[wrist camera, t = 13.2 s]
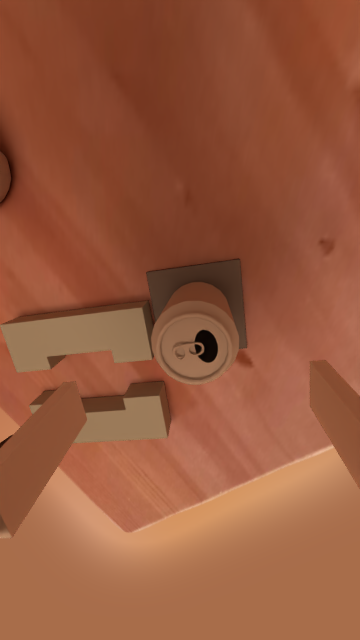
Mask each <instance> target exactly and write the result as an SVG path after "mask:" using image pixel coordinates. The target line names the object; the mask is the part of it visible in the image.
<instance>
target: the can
mask: <svg viewBox="0 0 360 640" xmlns="http://www.w3.org/2000/svg"><path fill="white" fill-rule="evenodd" d="M151 342H152V351H153V353H154V355H155V358H156V360H157V362H158V363H159V364H160V366H161V368H162V369H163V370H164V371H165V372H166V373H167V374H168V375H169V376H170V377H172V378H174V379H175V380H177V381H179V382H182V383H186V384H192V385H201V384H205V383H208V382H212V381H214V380H215V379H217V378H218V377H220V376H221V375H222V374H223V373H224V372H226V371H227V370H228V369H229V367H230V366H231V365H232V364H233V362H234V361H235V358H236V356H237V353H238V350H239V335H238V332H237V329H236V326H235V323H234V320H233V317H232V314H231V311H230V308H229V305H228V302H227V299H226V297H225V296H224V295H223V293H222V292H221V291H220V290H219V289H217V288H216V287H214V286H213V285H211V284H207V283H204V282H191V283H188V284H186V285H183V286H181V287H180V288H179V289H177V290H176V291H175V292H174V293H173V295H172V296H171V298H170V299H169V301H168V303H167V304H166V306H165V308H164V309H163V311H162V313H161V315H160V316H159V318H158V320H157V321H156V323H155V325H154V328H153V332H152V336H151Z"/></svg>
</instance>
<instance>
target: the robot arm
mask: <svg viewBox="0 0 360 640" xmlns="http://www.w3.org/2000/svg"><path fill="white" fill-rule="evenodd" d="M310 407H311V409H312V411H313V412H314V414H315V416H316V417H317V419H318V421H319V422H320V424H321V426H322V427H323V429H324V431H325V432H326V434H327V436H328V437H329V439H330V440H331V442H332V444H333V445H334V447H335V449H336V450H337V452H338V454H339V455H340V457H341V459H342V460H343V462H344V463H345V465H346V467H347V469H348V470H349V472H350V474H351V475H352V477H353V479H354V480H355V482H356V484H357V485H358V487H359V489H360V396H359V395H358V394H357V393H356V392H355V391H354V390H353V389H352V388H351V387H350V386H349V384H348V383H347V382H346V381H345V380H344V379H343V378H342V377H341V376H340V375H339V374H338V373H337V372H336V371H335V370H334V369H333V368H332V366H331V365H330V364H329V363H328V362H327V361H326V360H319V361H310ZM86 422H87V417H86V414H85V410H84V407H83V404H82V401H81V397H80V394H79V391H78V388H77V384H76V381H73V382H63V383H62V385H61V386H60V387H59V388H58V389H57V390H56V391H55V392H54V393H53V394H52V395H51V396H50V397H49V398H48V399H47V400H46V401H45V402H44V403H43V404H42V405H41V406H40V407H39V408H38V409H37V411H36V412H35V413H34V414H33V415H32V416H31V417H30V418H29V419H28V420H27V421H26V422H25V423H24V424H23V425H22V426H21V427H20V428H19V429H18V430H17V432H15V433H14V434H13V435H11V436H10V437H8V438H7V439H5V440H4V441H2V442H1V443H0V538H12V537H13V536H14V534H15V533H16V531H17V530H18V528H19V526H20V525H21V523H22V522H23V520H24V519H25V517H26V516H27V514H28V512H29V511H30V509H31V508H32V506H33V505H34V503H35V501H36V500H37V498H38V497H39V495H40V494H41V492H42V490H43V489H44V487H45V486H46V484H47V482H48V481H49V479H50V478H51V476H52V475H53V473H54V472H55V470H56V469H57V467H58V465H59V464H60V462H61V461H62V459H63V458H64V456H65V454H66V453H67V451H68V450H69V448H70V447H71V445H72V443H73V442H74V440H75V439H76V437H77V436H78V434H79V433H80V431H81V429H82V428H83V426H84V425H85V423H86Z"/></svg>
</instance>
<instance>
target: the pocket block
mask: <svg viewBox="0 0 360 640" xmlns="http://www.w3.org/2000/svg"><path fill="white" fill-rule="evenodd" d="M0 327H1V330H2V333H3V335H4V338H5V341H6V344H7V346H8V349H9V352H10V355H11V357H12V360H13V363H14V366H15V368H16V371H17V372H27V371H38V370H48V369H52V368H53V367H54V366H55V365H56V364H58V363H59V362H60V361H61V360H62V359H64V358H65V356H64V355H68V354H78V353H88V352H98V351H107V350H112V354H113V359H114V363H122V362H132V361H143V360H152V359H153V357H154V353H153V351H152V342H151V336H152V332H153V328H154V327H153V321H152V316H151V311H150V305H149V300H148V301H140V302H132V303H124V304H116V305H108V306H100V307H93V308H85V309H77V310H69V311H61V312H53V313H45V314H37V315H29V316H22V317H18V318H15V319H13V320H10V321H8V322H6V323H3V324H1V325H0ZM55 391H56V390H51V391H44V392H43V393H42V394H41V395H40V396H39V397H38V398H37V399H35V400H34V401H33V402H32V403H31V404H30V405H29V407H30V409H31V412H32V415H33V414H34V413H35V412H36V411H37V409H38V408H39V407H40V406H41V405H42V404H43V403H44V402H45V401H46V400H47V399H48V398H49V397H50V396H51V395H52V394H53V393H54V392H55ZM81 401H82V404H83V407H84V410H85V414H86V417H87V422H86V423H85V425H84V426H83V428H82V429H81V431H80V433H79V434H78V436H77V437H76V439H75V440H74V442H73V443H86V442H105V441H124V440H142V439H161V438H168V434H169V429H170V424H171V418H170V412H169V407H168V401H167V396H166V391H165V385H164V381H159V382H147V383H135V384H130V386H129V388H128V390H127V392H126V394H125V395H122V396H109V397H96V398H83V399H81Z"/></svg>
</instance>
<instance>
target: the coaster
mask: <svg viewBox="0 0 360 640" xmlns="http://www.w3.org/2000/svg"><path fill="white" fill-rule="evenodd" d="M146 274H147V279H148V285H149V290H150V296H151V301H152V306H153V312H154V317H155V323H156V321H157V320H158V318H159V316H160V315H161V313H162V311H163V309H164V308H165V306H166V304H167V303H168V301H169V299H170V298H171V296H172V295H173V293H174V292H175V291H176V290H177V289H179V288H180V287H181V286H183V285H186V284H188V283H191V282H204V283H207V284H211V285H213V286H214V287H216V288H217V289H219V290H220V291H221V292H222V293H223V295H224V296H225V297H226V299H227V302H228V305H229V308H230V311H231V314H232V317H233V320H234V323H235V326H236V329H237V332H238V335H239V349H243V348H247V341H246V328H245V316H244V304H243V291H242V279H241V266H240V259H235V260H228V261H221V262H214V263H207V264H200V265H193V266H186V267H179V268H172V269H165V270H158V271H151V272H146Z"/></svg>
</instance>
